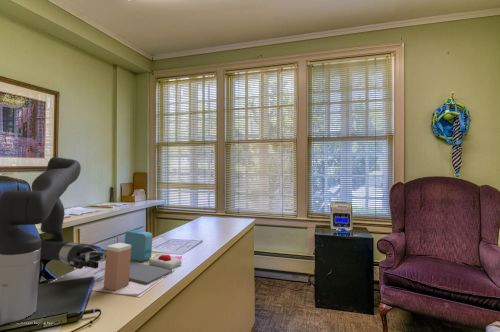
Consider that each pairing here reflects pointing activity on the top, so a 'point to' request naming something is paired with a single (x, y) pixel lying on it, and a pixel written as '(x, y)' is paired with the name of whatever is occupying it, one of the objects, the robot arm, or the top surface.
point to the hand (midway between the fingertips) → (108, 261)
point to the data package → (139, 244)
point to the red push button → (165, 262)
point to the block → (117, 266)
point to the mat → (146, 273)
